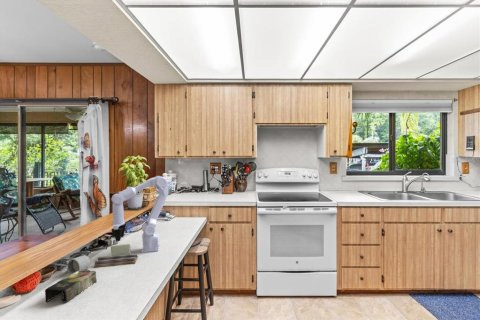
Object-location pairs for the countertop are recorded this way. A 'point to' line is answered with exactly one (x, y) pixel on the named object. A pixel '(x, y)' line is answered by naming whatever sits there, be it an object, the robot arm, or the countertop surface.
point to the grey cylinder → (78, 264)
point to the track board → (116, 260)
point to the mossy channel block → (71, 285)
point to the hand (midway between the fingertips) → (119, 238)
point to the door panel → (120, 249)
